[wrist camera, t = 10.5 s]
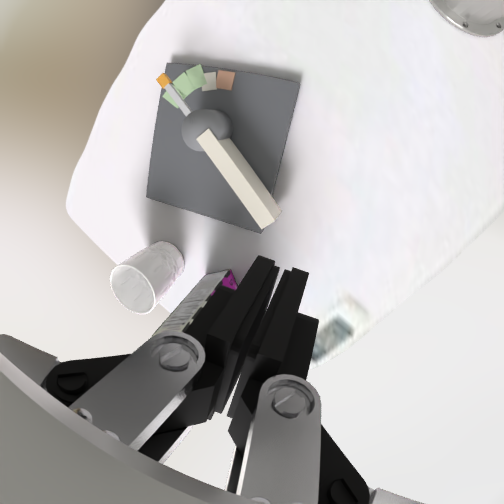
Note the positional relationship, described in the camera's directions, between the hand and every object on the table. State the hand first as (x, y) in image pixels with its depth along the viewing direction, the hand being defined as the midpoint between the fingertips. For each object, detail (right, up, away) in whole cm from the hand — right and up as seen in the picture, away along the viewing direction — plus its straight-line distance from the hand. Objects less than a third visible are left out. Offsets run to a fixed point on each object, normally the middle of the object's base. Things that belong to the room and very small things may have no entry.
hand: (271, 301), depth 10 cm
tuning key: (-4, +15, +28) cm, 32 cm away
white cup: (-14, 0, +40) cm, 42 cm away
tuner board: (-5, +16, +29) cm, 34 cm away
